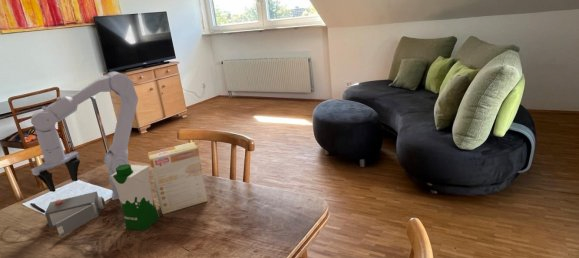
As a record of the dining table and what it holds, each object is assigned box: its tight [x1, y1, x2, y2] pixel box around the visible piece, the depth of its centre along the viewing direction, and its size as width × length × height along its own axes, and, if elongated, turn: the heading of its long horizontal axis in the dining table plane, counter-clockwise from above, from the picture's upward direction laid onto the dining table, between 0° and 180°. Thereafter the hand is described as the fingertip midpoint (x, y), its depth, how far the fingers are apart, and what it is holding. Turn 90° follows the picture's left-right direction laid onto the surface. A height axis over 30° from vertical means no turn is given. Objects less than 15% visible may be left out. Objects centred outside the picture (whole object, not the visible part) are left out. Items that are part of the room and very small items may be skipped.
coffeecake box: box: [147, 141, 209, 215], centre depth 120 cm, size 15×7×20 cm, turn 115°
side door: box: [56, 202, 98, 238], centre depth 113 cm, size 13×1×5 cm, turn 152°
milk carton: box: [110, 164, 160, 232], centre depth 110 cm, size 9×9×20 cm
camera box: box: [44, 191, 106, 230], centre depth 120 cm, size 16×8×6 cm, turn 112°
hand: (64, 185), depth 122 cm, fingers open, 7 cm apart
